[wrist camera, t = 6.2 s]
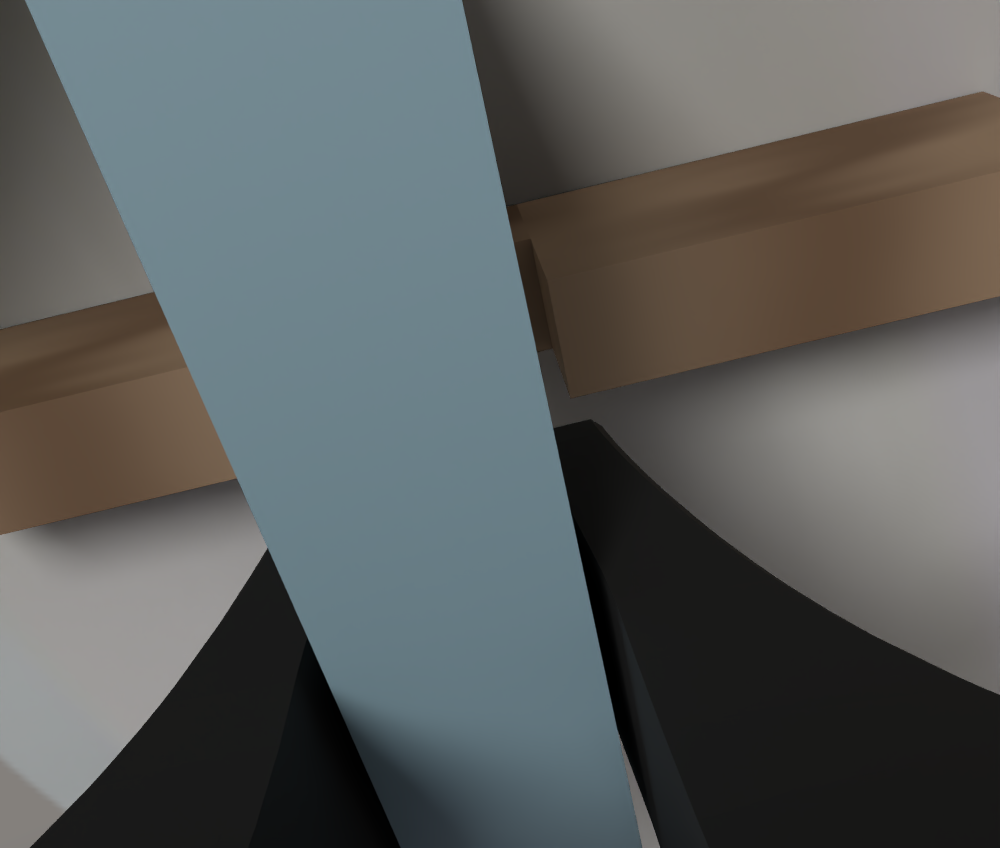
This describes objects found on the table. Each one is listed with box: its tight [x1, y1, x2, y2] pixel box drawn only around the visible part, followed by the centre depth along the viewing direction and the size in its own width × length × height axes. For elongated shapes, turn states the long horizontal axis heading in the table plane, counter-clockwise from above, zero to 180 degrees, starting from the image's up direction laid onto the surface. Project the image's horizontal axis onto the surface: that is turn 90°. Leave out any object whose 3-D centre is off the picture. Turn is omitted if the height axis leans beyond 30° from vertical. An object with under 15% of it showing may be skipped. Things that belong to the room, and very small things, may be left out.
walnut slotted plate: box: [0, 92, 1000, 535], centre depth 15 cm, size 20×2×4 cm, turn 101°
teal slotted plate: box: [25, 0, 642, 848], centre depth 11 cm, size 14×2×8 cm, turn 11°
